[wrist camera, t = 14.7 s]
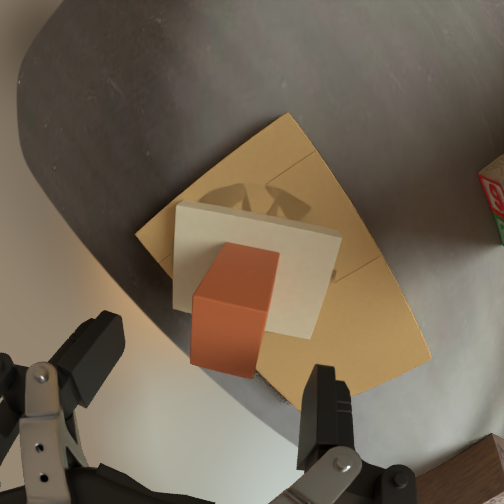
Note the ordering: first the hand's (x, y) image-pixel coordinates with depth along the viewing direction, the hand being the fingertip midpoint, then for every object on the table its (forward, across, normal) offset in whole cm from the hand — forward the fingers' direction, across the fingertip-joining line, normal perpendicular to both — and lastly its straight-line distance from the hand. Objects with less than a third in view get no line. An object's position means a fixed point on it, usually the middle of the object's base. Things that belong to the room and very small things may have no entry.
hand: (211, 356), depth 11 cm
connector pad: (+9, 0, 0) cm, 9 cm away
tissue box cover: (+9, -45, +31) cm, 56 cm away
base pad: (+9, -4, +2) cm, 10 cm away
